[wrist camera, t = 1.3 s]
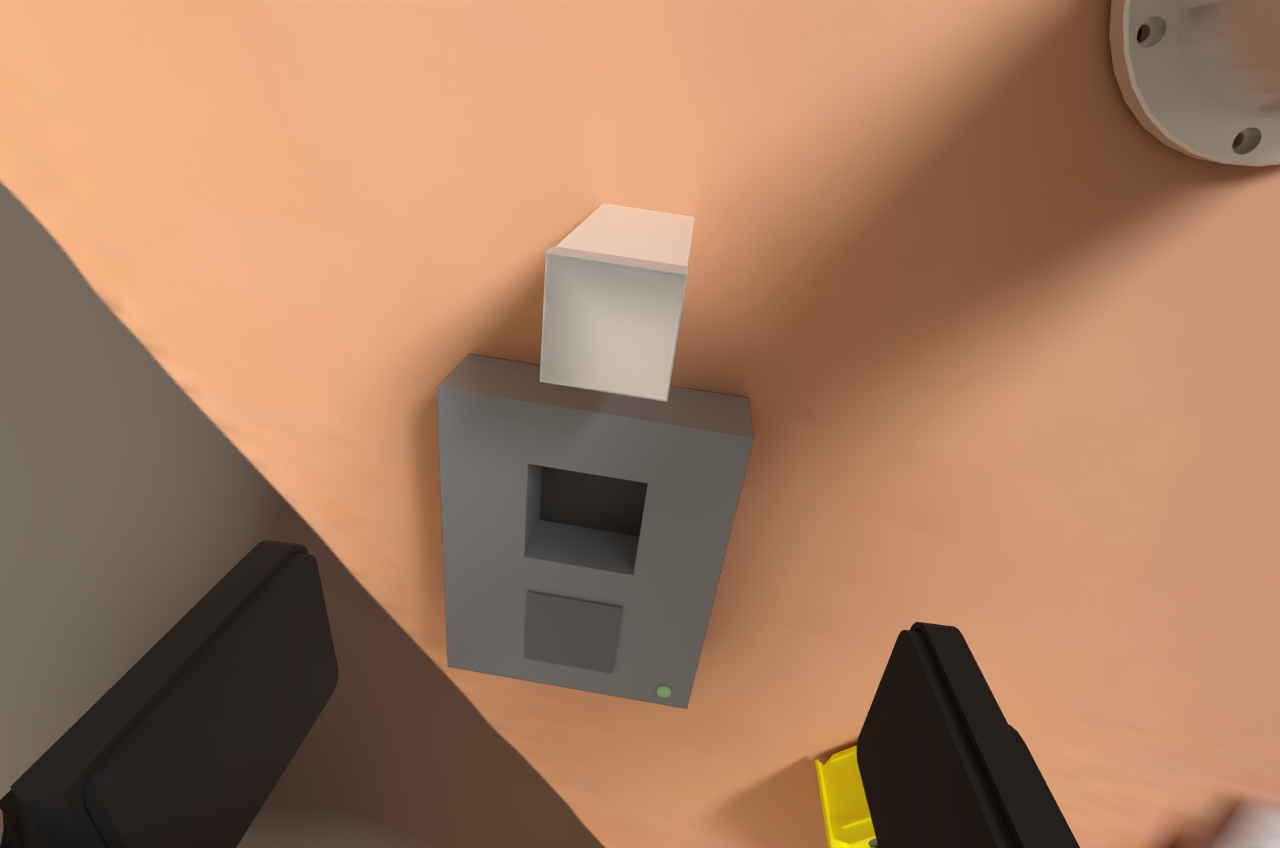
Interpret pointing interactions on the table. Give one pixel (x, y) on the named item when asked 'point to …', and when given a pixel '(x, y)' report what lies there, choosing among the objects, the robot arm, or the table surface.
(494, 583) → the plate
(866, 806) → the yellow toy chassis
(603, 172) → the table surface
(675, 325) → the plug
